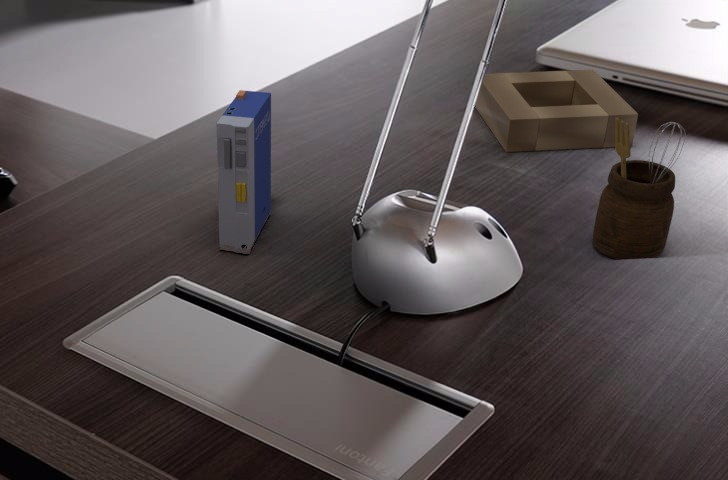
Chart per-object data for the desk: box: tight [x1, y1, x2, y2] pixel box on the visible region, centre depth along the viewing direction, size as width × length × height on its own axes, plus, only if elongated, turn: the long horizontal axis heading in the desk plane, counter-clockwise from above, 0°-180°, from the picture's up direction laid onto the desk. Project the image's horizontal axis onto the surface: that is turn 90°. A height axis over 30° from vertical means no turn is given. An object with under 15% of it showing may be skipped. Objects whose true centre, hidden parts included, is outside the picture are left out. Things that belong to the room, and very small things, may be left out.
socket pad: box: [474, 68, 639, 153], centre depth 114 cm, size 13×13×4 cm
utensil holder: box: [592, 118, 687, 261], centre depth 89 cm, size 6×6×12 cm
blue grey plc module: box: [215, 89, 272, 250], centre depth 93 cm, size 8×3×12 cm, turn 164°
